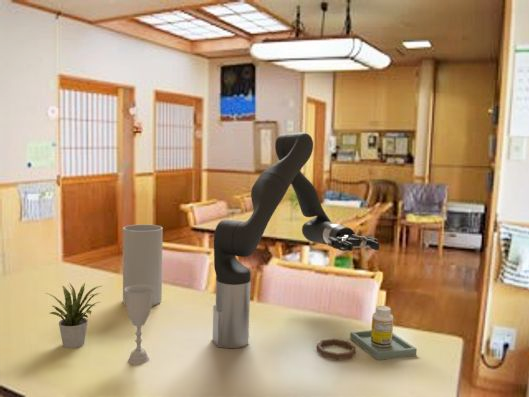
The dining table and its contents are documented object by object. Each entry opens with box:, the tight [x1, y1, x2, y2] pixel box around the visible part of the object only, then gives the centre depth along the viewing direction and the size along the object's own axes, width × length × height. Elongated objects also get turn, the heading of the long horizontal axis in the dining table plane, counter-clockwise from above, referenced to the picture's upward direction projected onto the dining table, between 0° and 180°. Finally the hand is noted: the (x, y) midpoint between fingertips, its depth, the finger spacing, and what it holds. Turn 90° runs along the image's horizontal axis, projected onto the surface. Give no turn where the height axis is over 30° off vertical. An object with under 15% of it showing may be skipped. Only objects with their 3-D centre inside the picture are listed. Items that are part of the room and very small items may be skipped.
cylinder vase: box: [122, 224, 164, 307], centre depth 163 cm, size 12×12×25 cm
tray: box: [349, 329, 418, 361], centre depth 135 cm, size 12×15×2 cm
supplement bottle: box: [371, 305, 394, 347], centre depth 134 cm, size 6×6×10 cm
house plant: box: [45, 282, 102, 349], centre depth 128 cm, size 14×14×16 cm
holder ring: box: [316, 338, 357, 361], centre depth 130 cm, size 10×10×2 cm
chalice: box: [125, 284, 154, 365], centre depth 120 cm, size 7×7×18 cm
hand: (365, 247), depth 142 cm, fingers open, 8 cm apart
